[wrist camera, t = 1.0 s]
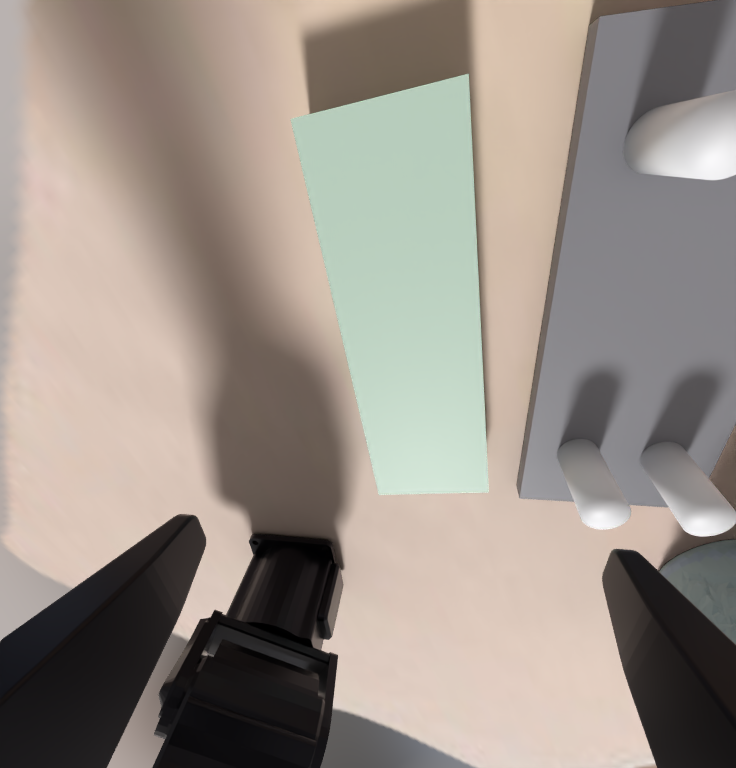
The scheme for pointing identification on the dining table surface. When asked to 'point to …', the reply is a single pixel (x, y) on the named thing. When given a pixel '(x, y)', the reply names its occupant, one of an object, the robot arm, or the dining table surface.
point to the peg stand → (643, 278)
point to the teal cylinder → (708, 581)
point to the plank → (405, 278)
